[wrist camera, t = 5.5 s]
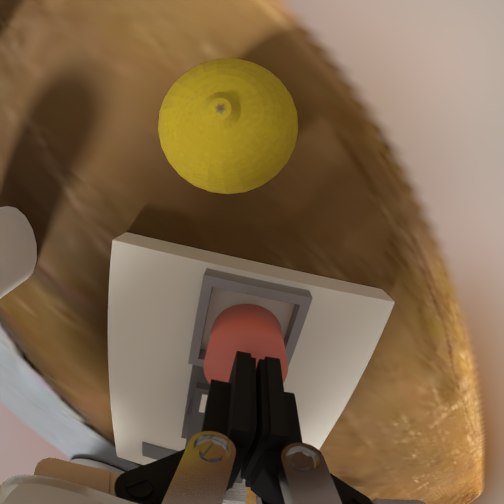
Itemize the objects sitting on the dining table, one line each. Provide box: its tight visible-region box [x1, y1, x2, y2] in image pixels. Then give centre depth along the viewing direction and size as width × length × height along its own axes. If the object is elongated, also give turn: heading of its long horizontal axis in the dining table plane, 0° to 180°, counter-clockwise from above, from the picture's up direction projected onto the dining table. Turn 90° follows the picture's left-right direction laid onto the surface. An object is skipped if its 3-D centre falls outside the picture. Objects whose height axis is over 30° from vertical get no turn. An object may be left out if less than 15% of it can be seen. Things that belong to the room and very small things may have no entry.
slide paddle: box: [222, 479, 246, 504], centre depth 18 cm, size 2×2×3 cm
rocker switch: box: [185, 382, 243, 484], centre depth 15 cm, size 7×4×1 cm, turn 167°
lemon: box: [158, 58, 298, 194], centre depth 12 cm, size 6×6×8 cm
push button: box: [203, 304, 288, 384], centre depth 14 cm, size 4×4×3 cm
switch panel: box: [108, 232, 395, 465], centre depth 18 cm, size 20×16×4 cm
